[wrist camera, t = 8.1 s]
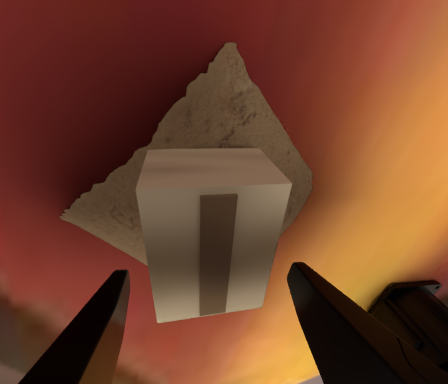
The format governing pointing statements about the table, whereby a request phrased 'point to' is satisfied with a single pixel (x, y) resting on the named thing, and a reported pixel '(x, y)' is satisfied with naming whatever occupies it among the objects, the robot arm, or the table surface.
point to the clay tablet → (196, 139)
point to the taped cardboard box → (210, 228)
